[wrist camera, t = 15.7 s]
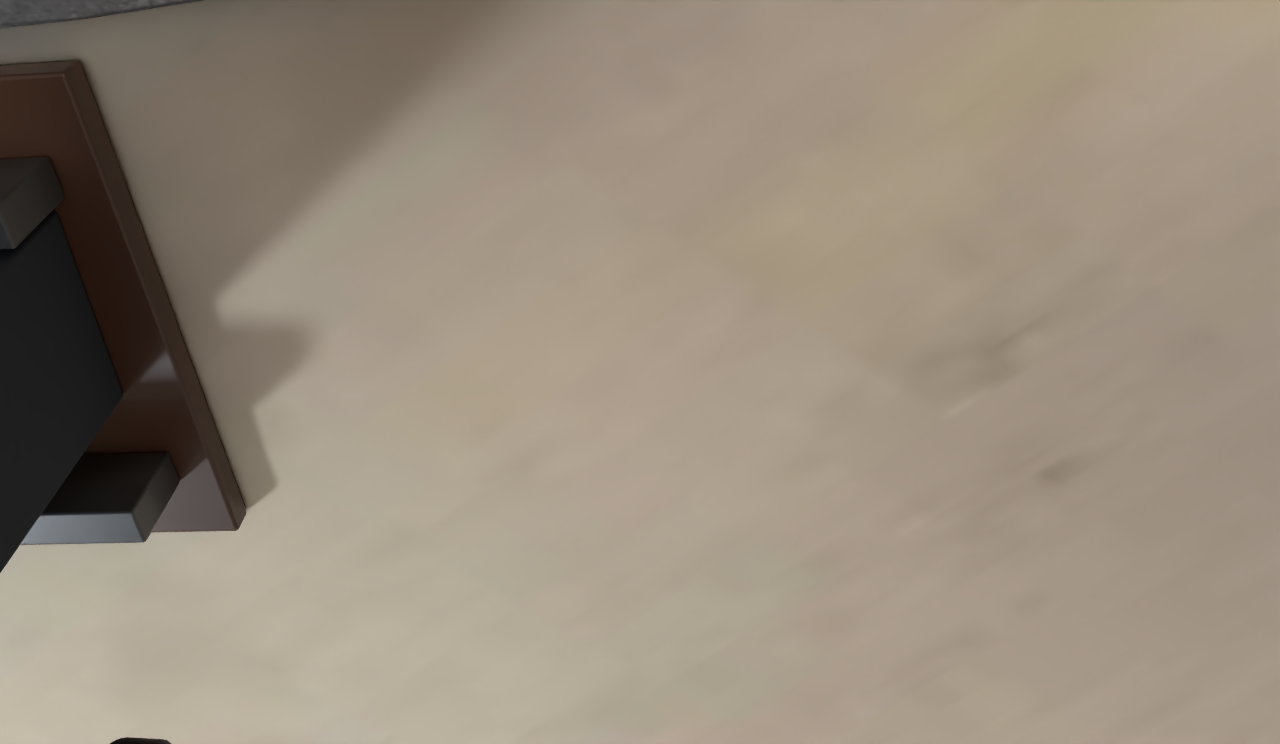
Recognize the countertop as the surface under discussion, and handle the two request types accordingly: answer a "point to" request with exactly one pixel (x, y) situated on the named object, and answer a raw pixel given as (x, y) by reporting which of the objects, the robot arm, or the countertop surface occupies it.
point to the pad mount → (111, 325)
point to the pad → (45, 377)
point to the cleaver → (70, 9)
